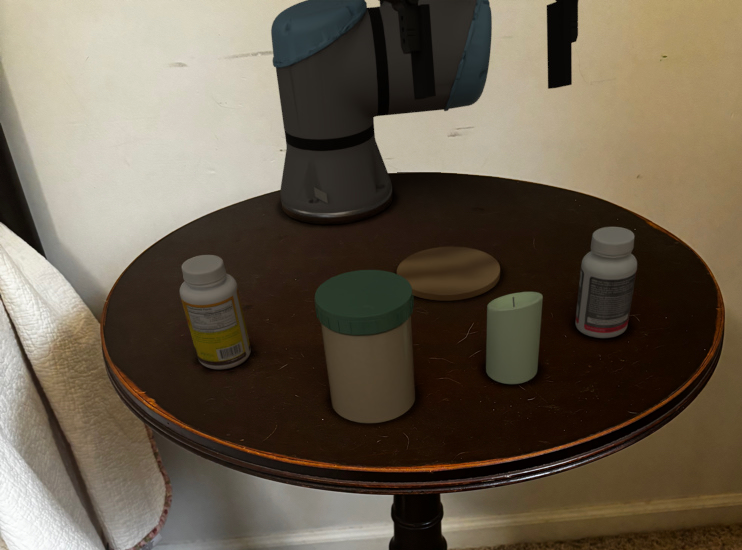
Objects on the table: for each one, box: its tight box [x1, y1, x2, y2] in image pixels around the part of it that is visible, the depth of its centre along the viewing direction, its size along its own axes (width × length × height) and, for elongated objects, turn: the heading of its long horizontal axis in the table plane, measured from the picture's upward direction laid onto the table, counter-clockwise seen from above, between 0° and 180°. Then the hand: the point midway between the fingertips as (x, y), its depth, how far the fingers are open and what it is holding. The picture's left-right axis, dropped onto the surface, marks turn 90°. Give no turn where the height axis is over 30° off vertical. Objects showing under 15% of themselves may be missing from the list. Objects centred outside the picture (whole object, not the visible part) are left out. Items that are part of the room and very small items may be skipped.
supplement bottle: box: [179, 254, 252, 370], centre depth 79 cm, size 6×6×10 cm
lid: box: [314, 269, 415, 335], centre depth 69 cm, size 8×8×2 cm
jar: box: [319, 314, 416, 424], centre depth 72 cm, size 8×8×10 cm
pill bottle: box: [575, 226, 638, 339], centre depth 80 cm, size 5×5×10 cm
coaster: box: [396, 246, 501, 302], centre depth 93 cm, size 12×12×1 cm
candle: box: [485, 291, 544, 385], centre depth 75 cm, size 5×5×8 cm
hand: (494, 92), depth 70 cm, fingers open, 13 cm apart
